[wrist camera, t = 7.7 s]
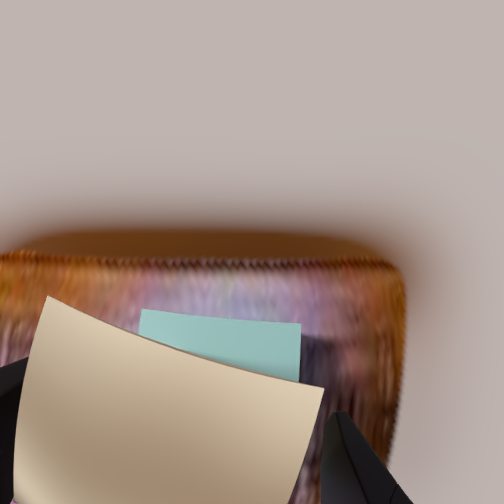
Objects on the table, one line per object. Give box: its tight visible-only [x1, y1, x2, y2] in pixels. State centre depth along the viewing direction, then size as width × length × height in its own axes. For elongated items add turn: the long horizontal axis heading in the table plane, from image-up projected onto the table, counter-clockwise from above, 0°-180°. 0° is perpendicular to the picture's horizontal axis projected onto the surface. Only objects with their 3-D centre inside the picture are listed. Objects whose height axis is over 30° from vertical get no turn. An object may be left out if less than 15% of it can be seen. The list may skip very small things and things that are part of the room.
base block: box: [138, 309, 301, 382], centre depth 17 cm, size 10×10×4 cm
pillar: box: [14, 296, 324, 504], centre depth 9 cm, size 5×5×13 cm
